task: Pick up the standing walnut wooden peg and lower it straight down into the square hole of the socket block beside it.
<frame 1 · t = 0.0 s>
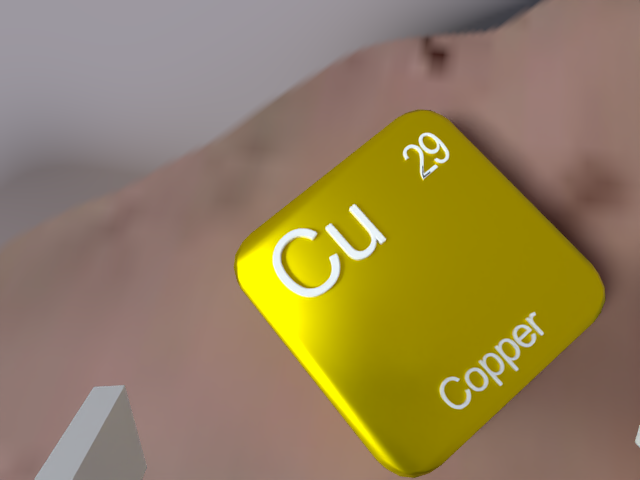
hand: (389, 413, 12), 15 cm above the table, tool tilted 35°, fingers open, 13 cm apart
element tile: (403, 287, 28), on the table
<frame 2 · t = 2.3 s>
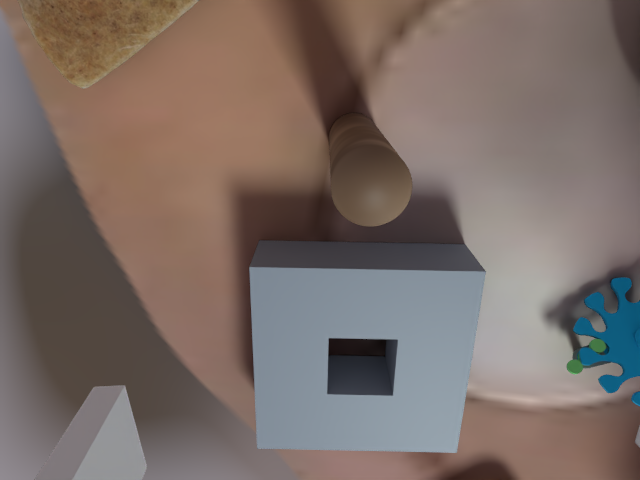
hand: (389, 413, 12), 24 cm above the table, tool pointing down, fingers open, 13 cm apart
socket block: (357, 330, 39), on the table
blue knobby branching toy: (611, 315, 38), on the table
walnut peg: (353, 137, 33), on the table
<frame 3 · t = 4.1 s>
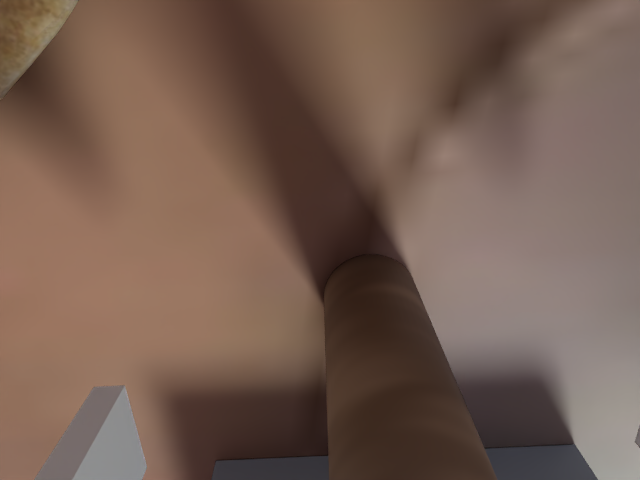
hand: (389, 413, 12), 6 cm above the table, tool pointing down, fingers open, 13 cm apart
walnut peg: (369, 296, 18), on the table
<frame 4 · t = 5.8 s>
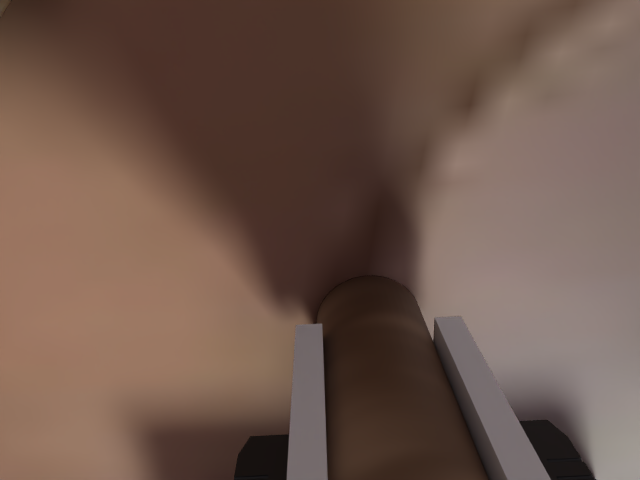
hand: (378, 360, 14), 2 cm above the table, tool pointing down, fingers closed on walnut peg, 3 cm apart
walnut peg: (368, 322, 16), on the table, touching gripper
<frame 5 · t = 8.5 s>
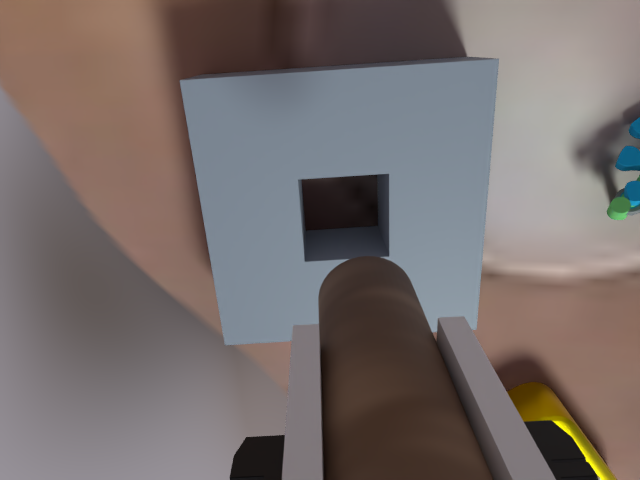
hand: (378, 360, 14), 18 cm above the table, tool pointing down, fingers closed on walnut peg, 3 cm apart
socket block: (340, 193, 31), on the table
element tile: (500, 463, 42), on the table
walnut peg: (366, 299, 17), point 15 cm above the table, touching gripper
when the fingers open (5 cm above the table, at t = 11.4 s): walnut peg drops 1 cm, resting in socket block.
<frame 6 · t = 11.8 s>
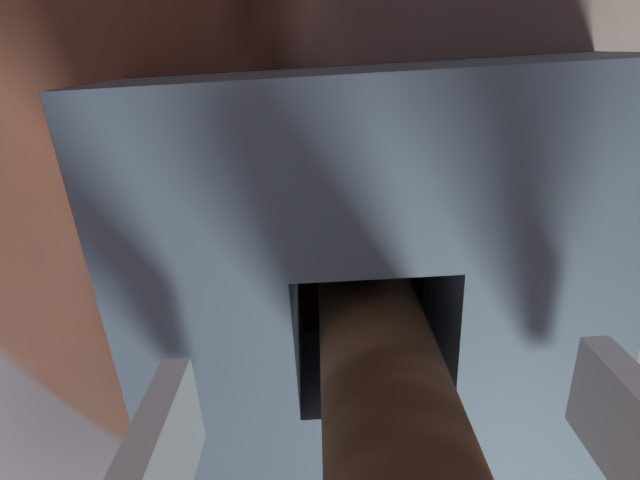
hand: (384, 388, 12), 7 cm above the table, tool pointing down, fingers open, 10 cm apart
socket block: (361, 276, 19), on the table
walnut peg: (361, 276, 19), resting in socket block
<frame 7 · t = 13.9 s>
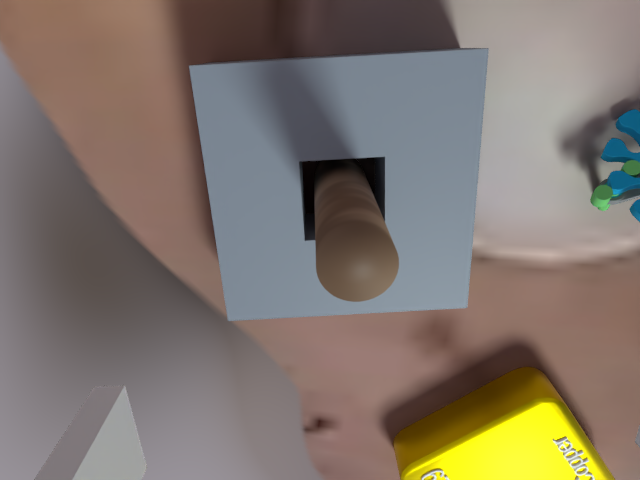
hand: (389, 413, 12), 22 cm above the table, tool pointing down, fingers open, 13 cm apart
socket block: (338, 178, 32), on the table
element tile: (493, 446, 43), on the table
walnut peg: (339, 177, 32), resting in socket block
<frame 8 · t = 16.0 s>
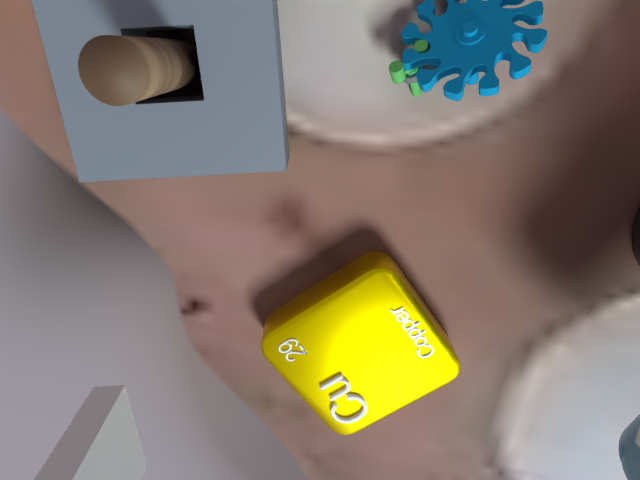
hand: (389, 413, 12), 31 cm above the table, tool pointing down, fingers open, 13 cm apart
socket block: (182, 63, 37), on the table
blue knobby branching toy: (448, 41, 37), on the table
element tile: (358, 332, 48), on the table
walnut peg: (182, 63, 37), resting in socket block
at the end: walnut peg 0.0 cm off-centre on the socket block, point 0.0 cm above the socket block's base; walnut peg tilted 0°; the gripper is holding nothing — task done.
